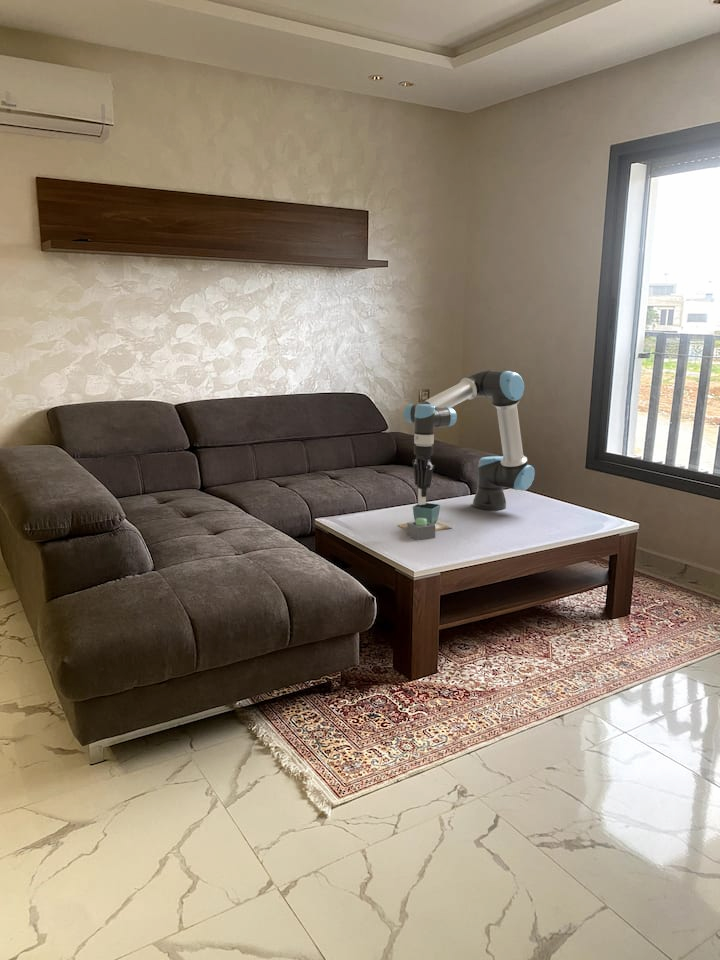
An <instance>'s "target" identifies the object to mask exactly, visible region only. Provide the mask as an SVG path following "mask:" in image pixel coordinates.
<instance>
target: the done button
mask: <svg viewBox="0 0 720 960" xmlns="http://www.w3.org/2000/svg"><path fill="white" fill-rule="evenodd" d="M416 525H417V526H426V525H427V519H426V518H416Z"/></svg>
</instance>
